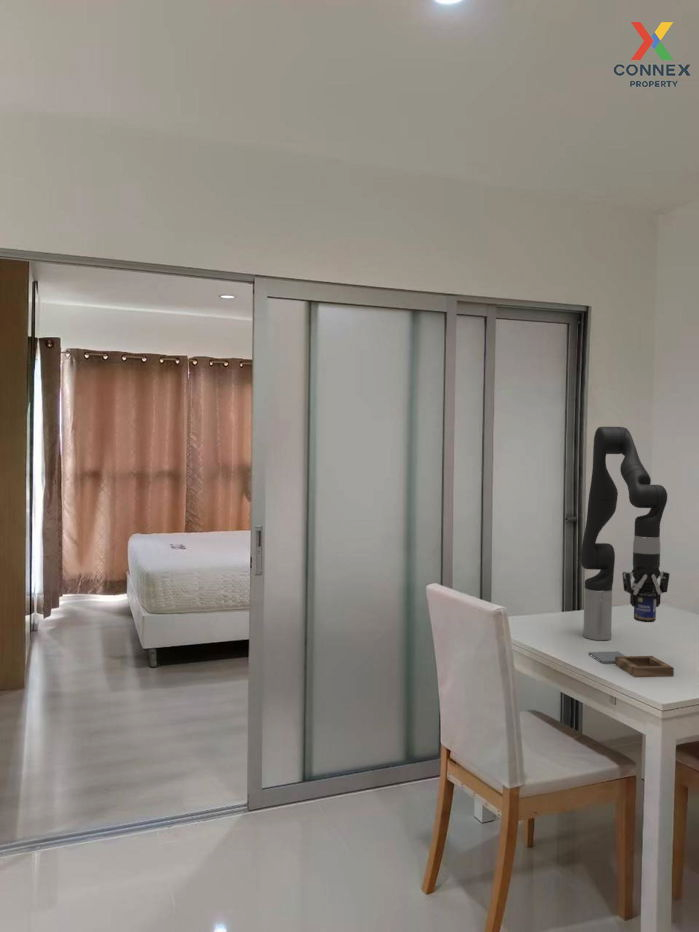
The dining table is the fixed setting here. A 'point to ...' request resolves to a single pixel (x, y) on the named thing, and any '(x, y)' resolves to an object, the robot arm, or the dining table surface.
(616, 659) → the walnut holder
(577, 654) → the dining table surface
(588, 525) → the robot arm
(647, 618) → the pill bottle
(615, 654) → the grey pad
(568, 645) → the dining table surface
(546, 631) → the dining table surface
